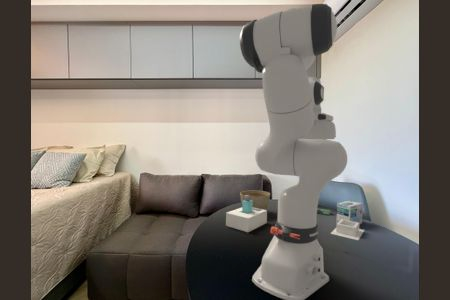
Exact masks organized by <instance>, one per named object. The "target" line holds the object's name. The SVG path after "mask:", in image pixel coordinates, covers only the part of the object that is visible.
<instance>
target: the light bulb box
mask: <svg viewBox="0 0 450 300" xmlns="http://www.w3.org/2000/svg"><path fill="white" fill-rule="evenodd" d="M363 205H364V204H363V203H361V202H356V201H352V200H346V201H342V202H337V203H336V224H337V223H338V222H339V221H340V220H341V219H343V220H348V221H353V222H358V223H359V225H361V224H363V210H364V209H363V207H364V206H363Z"/></svg>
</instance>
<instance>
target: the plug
mask: <svg viewBox="0 0 450 300" xmlns="http://www.w3.org/2000/svg"><path fill="white" fill-rule="evenodd" d="M241 205H242V206H241V207H242V213H246V214H249V213H252V205H253V201H252V200H250V195H245V200H244V201H242V202H241Z"/></svg>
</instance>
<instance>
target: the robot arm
mask: <svg viewBox="0 0 450 300" xmlns="http://www.w3.org/2000/svg"><path fill="white" fill-rule="evenodd" d="M337 30H338V22H337V18H336V16H335V13H334V12H333V10H332V7H331V6H330V5H328V4H327V3H313V4H312V5H311V6H305V7H299V8H289V9H287V10H284V11H283V10H281V11H277V12H275V13H272V14H269V15H267V16H264V17H261V18H259V19H253V20H252V21H250V22H248V23H246V24H245V25H243V27H242V29H241V31H240V34H239V45H240V47H239V48H240V51H241V54H242V57H243V59H244V61H245V62H246V63H247V64H248V65H249V66H250V67H251V68H254V69H255V71H256V72H257V73H260V74H262V77H261V78H262V80H261V81H262V91H263V100H264V103H265V108H266V112H267V117H268V123H269V133H268V136H267V137H266V139H264V140H263V141H261V142H260V143H259V144H258V146H257V148H256V150H255V162H256V165H257V167H258V168H259V169H260V170H261V171H263V172H266V173H269V174H273V175H281V176H290V177H291V176H292V177H293V176H294V177H298V183H297V184H296V185H293V186H290V187H288V188H286V189H284V190H282V191H281V192H280V194H279V196H278V198H277V219H276V220H275V225H274V226H271V227H270V234H272V235H273V237H272V239H271V240H270V242H269V244H268V246H267V248H266V250H265V252H264V254H263V256H262V259H261V264H260V266H259V267H258V268H257V270H256V271H255V272H254V274H253V275H252V279H251V281H252V283H254V285H255V286H256V287H258V288H259V289H261V290H263V291H264V292H266V293H269V294H270V295H272V296H275V297H277V298H280V299H281V300H306V299H307V298H308V297H310V296H311V295H313V294H314V293H315V292H316V291H318V290H319V289H320V288H322V287H323V286H324V285H326V284H327V283H328V282H329V281H330V276H329V275H328V273H326V272H325V271H324V249H323V247H322V245H321V244H320V243H319V241H318V237H319V224H318V223H317V215H318V214H317V208H318V205H319V199H320V196H321V194H322V192H323V190H324V189H325V187H326V186H327V185H328V184H329V183H330V182H331V181H332V180H333V179H335V178H337V177H339V176H340V175H341V174H342V173H343V172H344V171H345V170H346V167H347V164H348V153H347V151H346V149H345V147H344V145H342V143H340V142H339V141H336V140H334V139H336V136H337V130H336V125H335V123H334V116H333V115H330V114H326V113H324V112H322V107H321V104H322V102H324V101H325V100H324V97H325V96H324V95H325V93H324V91H325V87H324V86H323V85H322V84H321V79H320V78H319V77H316V76H309V75H308V69H310V68H311V67H312V65H313V63H314V62H315V60H316V56H321V55H322V54H325V53H327V52H329V51H330V49H331V48H332V47H333V45H334V44H333V43H334V42H335V40H336V36H337Z"/></svg>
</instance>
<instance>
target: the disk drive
mask: <svg viewBox="0 0 450 300" xmlns="http://www.w3.org/2000/svg"><path fill="white" fill-rule="evenodd" d="M317 215H322V216H329V217H330V216H331V215H332V209H328V208H320V207H317Z"/></svg>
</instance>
